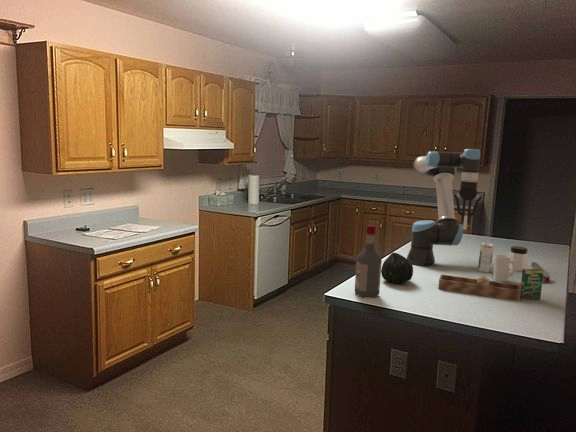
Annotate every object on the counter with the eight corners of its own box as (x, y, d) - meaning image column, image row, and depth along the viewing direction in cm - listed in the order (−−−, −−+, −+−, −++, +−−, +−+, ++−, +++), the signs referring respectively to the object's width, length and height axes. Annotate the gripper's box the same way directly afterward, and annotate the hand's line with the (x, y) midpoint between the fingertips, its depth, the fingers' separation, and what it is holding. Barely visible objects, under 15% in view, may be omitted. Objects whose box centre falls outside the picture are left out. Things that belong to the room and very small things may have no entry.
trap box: (438, 289, 218) (439, 279, 218) (440, 283, 227) (441, 274, 227) (519, 300, 206) (521, 290, 205) (518, 294, 214) (519, 284, 214)
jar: (519, 272, 254) (521, 250, 252) (504, 268, 261) (507, 246, 259) (528, 270, 259) (531, 248, 257) (514, 266, 266) (516, 245, 264)
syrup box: (479, 268, 258) (482, 242, 256) (491, 270, 255) (494, 243, 253) (477, 271, 253) (480, 244, 251) (489, 272, 250) (492, 245, 248)
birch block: (476, 287, 214) (477, 277, 213) (476, 284, 219) (477, 275, 218) (488, 289, 212) (489, 279, 211) (488, 286, 217) (489, 276, 216)
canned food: (537, 286, 245) (547, 269, 245) (548, 290, 235) (559, 273, 235) (518, 275, 245) (528, 258, 244) (529, 279, 235) (539, 261, 234)
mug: (491, 279, 237) (493, 256, 235) (494, 277, 243) (496, 253, 241) (513, 283, 231) (516, 259, 230) (516, 280, 237) (518, 257, 235)
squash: (422, 270, 228) (403, 244, 231) (413, 279, 215) (393, 251, 218) (399, 285, 235) (381, 260, 238) (389, 294, 222) (370, 267, 225)
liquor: (361, 298, 201) (365, 228, 196) (352, 291, 210) (356, 224, 205) (381, 297, 204) (386, 227, 199) (371, 290, 212) (376, 223, 208)
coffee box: (522, 299, 208) (525, 270, 206) (518, 297, 211) (522, 268, 209) (540, 300, 208) (544, 270, 206) (537, 298, 211) (540, 268, 209)
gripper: (454, 180, 232) (450, 228, 235) (483, 182, 227) (478, 231, 230) (455, 179, 238) (451, 226, 242) (483, 181, 234) (479, 229, 237)
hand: (464, 229), depth 236 cm, fingers closed
